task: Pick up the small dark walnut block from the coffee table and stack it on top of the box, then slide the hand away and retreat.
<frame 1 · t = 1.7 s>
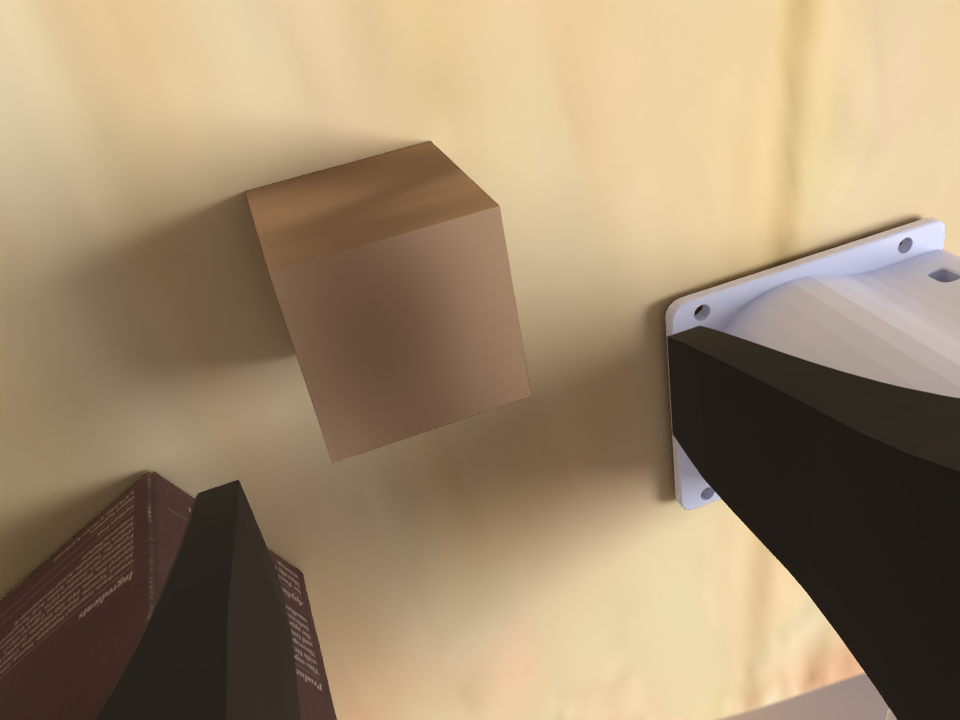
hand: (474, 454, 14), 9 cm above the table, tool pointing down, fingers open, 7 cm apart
box: (156, 581, 24), on the table
walnut block: (362, 250, 21), on the table
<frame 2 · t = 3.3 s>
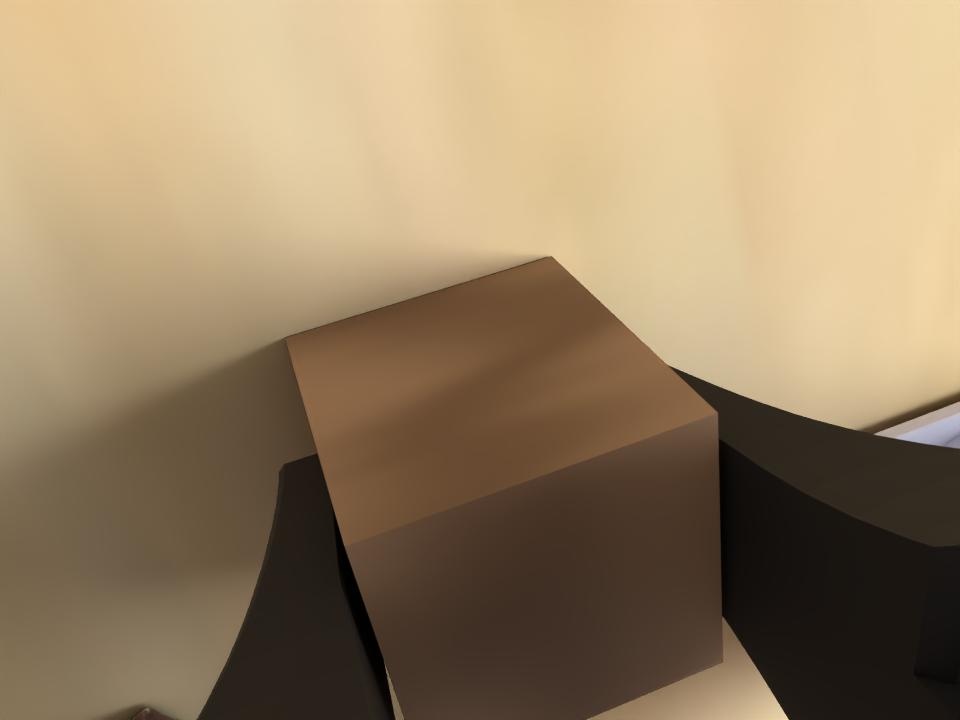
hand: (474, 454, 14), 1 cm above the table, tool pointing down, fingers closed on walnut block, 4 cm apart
walnut block: (448, 408, 15), on the table, touching gripper
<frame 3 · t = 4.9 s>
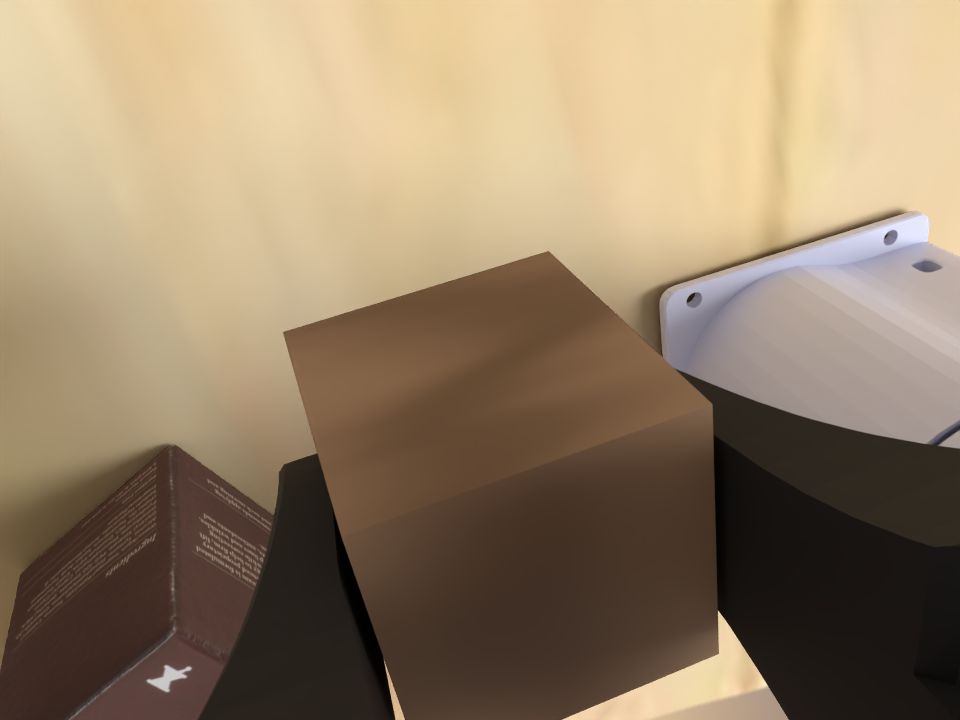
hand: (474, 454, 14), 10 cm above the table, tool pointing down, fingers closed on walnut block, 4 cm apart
box: (176, 551, 25), on the table
walnut block: (445, 403, 15), point 9 cm above the table, touching gripper
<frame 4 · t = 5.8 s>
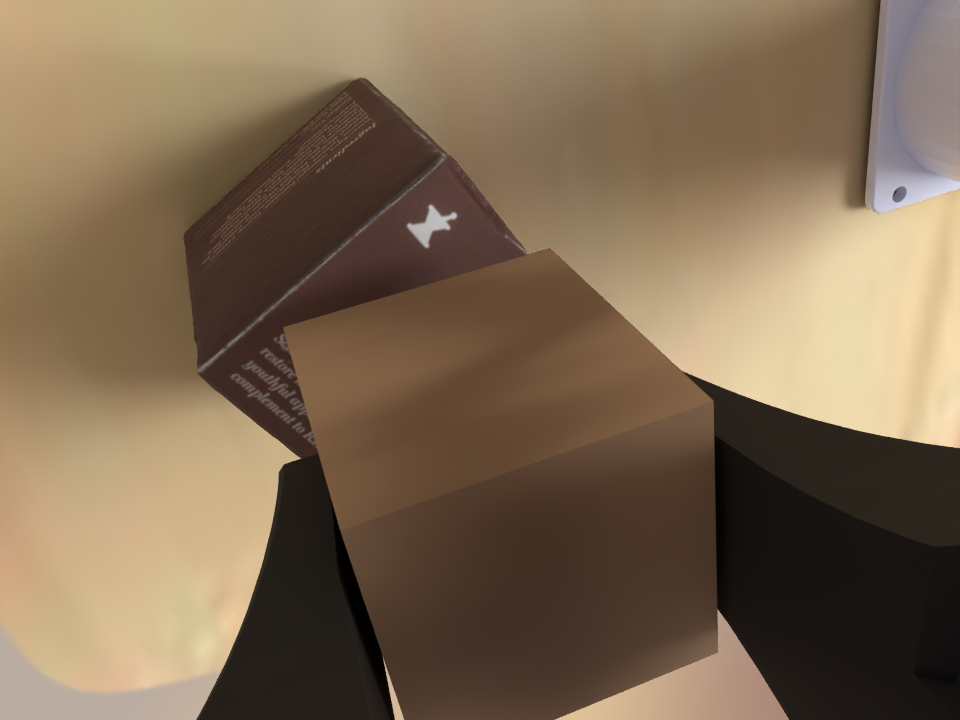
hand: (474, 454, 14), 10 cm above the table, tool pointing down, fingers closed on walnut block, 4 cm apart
box: (347, 233, 22), on the table
walnut block: (445, 400, 15), point 9 cm above the table, touching gripper
when the fingers open (9 cm above the table, at t = 6.6 s): walnut block stays where it is, resting on box.
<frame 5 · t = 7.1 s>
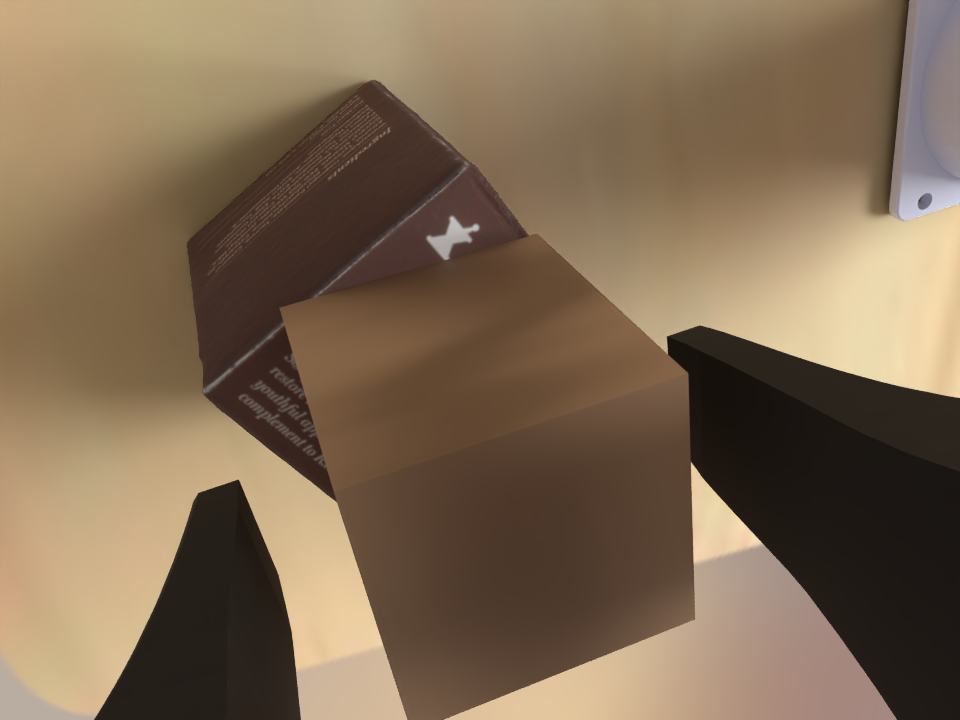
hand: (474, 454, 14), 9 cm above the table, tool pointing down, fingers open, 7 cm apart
box: (356, 241, 22), on the table, touching walnut block
walnut block: (436, 380, 15), point 7 cm above the table, touching box
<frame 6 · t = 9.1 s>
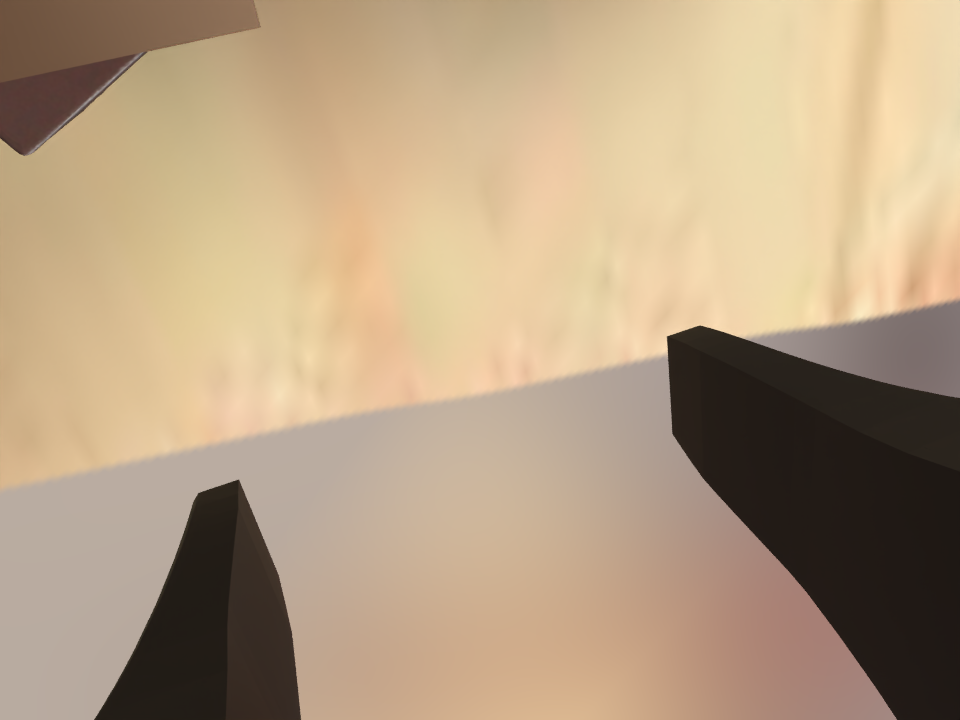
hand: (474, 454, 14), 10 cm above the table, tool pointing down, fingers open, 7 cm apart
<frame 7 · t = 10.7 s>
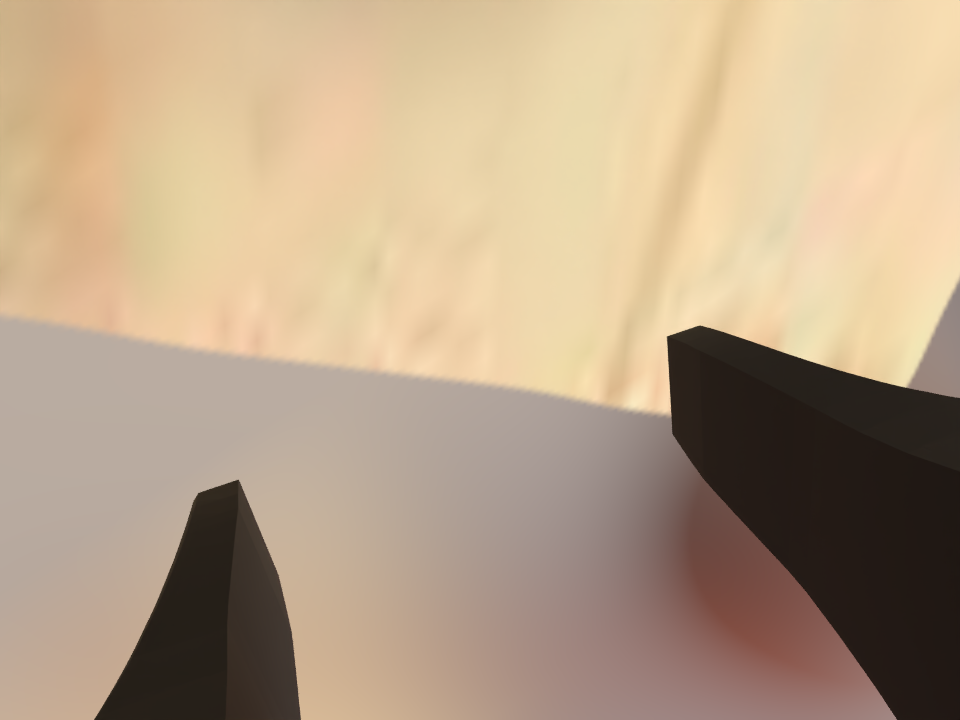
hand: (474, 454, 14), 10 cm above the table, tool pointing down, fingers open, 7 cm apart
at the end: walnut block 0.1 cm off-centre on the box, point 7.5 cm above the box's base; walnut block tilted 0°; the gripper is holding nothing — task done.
